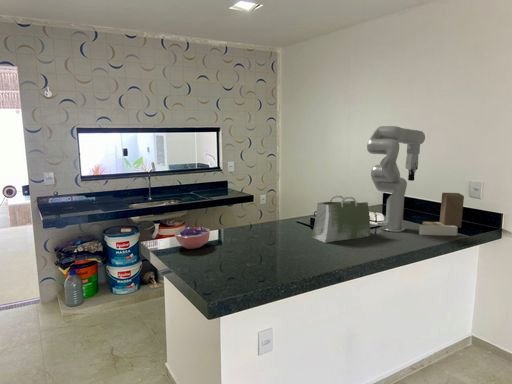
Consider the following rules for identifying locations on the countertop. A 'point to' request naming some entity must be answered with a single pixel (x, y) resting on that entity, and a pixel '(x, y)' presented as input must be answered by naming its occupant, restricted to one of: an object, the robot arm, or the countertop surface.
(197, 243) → the cell model
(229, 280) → the countertop surface
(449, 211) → the wooden block
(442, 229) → the cream board
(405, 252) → the countertop surface
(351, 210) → the grocery bag
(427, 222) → the oak block
